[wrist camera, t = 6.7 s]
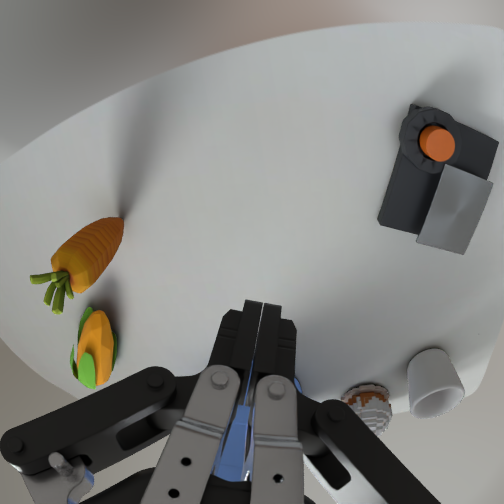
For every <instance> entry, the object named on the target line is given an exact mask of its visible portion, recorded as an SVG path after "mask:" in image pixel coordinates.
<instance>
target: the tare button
mask: <svg viewBox="0 0 504 504" xmlns="http://www.w3.org/2000/svg"><path fill="white" fill-rule="evenodd" d="M419 143H420V147H421V149H422V151H423V152H424V153H425V154H426V155H428V156H429V157H431V158H432V159H434V160H435V161H439V162H442V161H446V160H448V159H449V158H450V157H451V156H452V155H453V153H454V149H455V141H454V138H453V136H452V135H451V133H450V132H448V131H447V130H445V129H443V128H440V127H438V126H434V125H432V126H428V127H426V128H425V129H424V130H423V131H422V133H421V135H420V139H419Z"/></svg>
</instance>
